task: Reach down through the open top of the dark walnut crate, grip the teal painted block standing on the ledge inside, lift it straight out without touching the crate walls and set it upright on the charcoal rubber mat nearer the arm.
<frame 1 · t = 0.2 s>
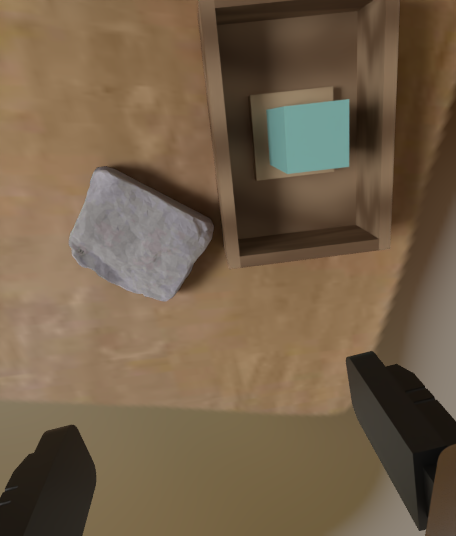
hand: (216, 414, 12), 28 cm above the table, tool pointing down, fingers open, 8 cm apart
block: (293, 135, 34), point 2 cm above the table, touching crate
stone block: (141, 235, 39), on the table
crate: (288, 134, 36), on the table
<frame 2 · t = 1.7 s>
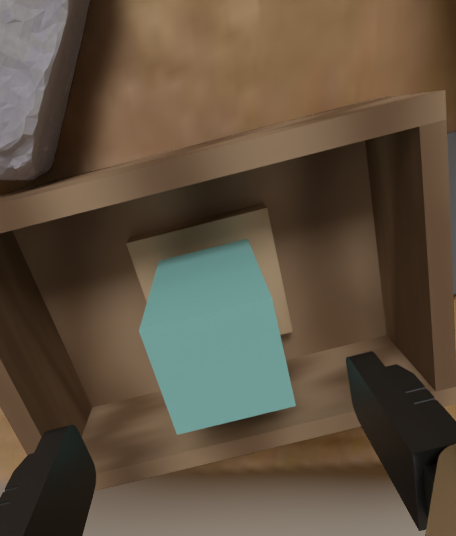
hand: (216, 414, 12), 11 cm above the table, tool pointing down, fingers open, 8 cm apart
block: (214, 290, 20), point 2 cm above the table, touching crate
crate: (213, 275, 22), on the table
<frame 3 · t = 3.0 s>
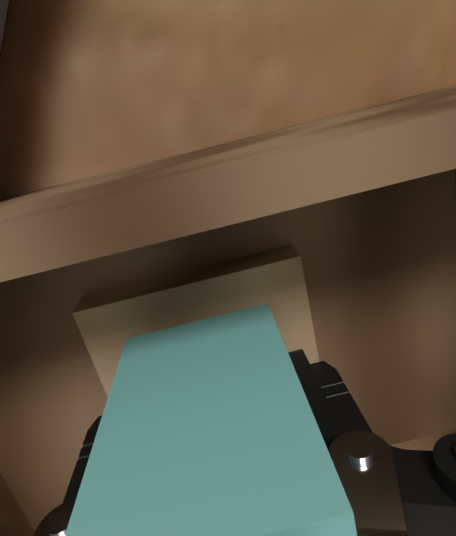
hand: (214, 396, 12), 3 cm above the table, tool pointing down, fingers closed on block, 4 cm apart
block: (214, 379, 13), point 2 cm above the table, touching crate, gripper
crate: (211, 347, 15), on the table
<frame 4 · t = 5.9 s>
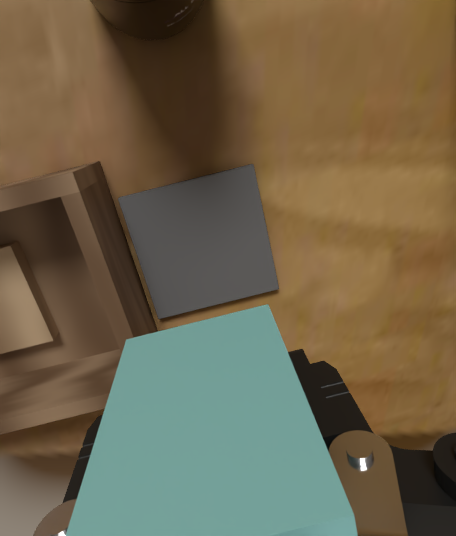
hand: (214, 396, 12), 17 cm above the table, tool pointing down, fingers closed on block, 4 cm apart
block: (214, 380, 13), point 16 cm above the table, touching gripper
mat: (203, 244, 28), on the table
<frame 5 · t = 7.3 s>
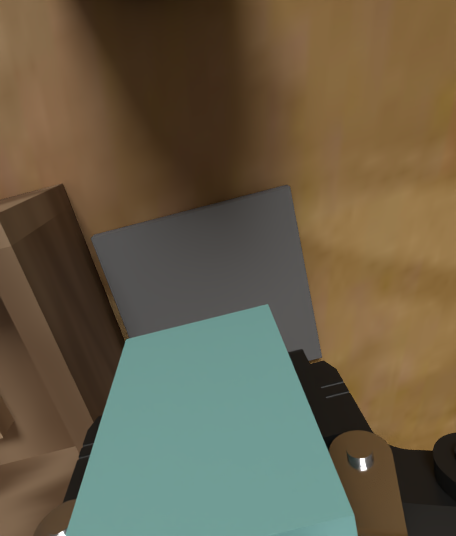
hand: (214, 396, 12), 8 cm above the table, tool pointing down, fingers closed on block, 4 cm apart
block: (214, 380, 13), point 7 cm above the table, touching gripper
mat: (215, 297, 20), on the table
when the fingers open (3 cm above the table, at t = 8.7 s): block drops 1 cm, resting on mat.
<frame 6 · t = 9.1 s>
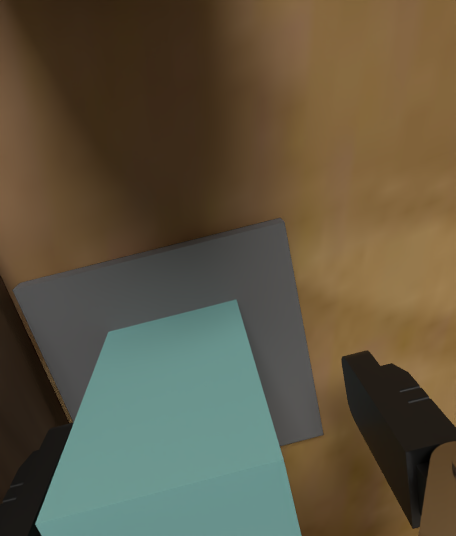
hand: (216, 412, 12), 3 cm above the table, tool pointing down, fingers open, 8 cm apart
block: (189, 369, 14), point 1 cm above the table, touching mat
mat: (185, 361, 15), on the table
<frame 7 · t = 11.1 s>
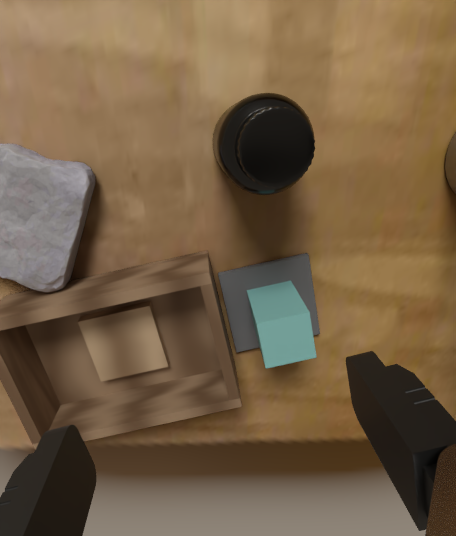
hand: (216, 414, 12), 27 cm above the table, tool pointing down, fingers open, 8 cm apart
block: (272, 305, 40), point 1 cm above the table, touching mat
supplement bottle: (250, 141, 35), on the table
stone block: (32, 212, 36), on the table
mat: (270, 303, 41), on the table
crate: (127, 334, 41), on the table
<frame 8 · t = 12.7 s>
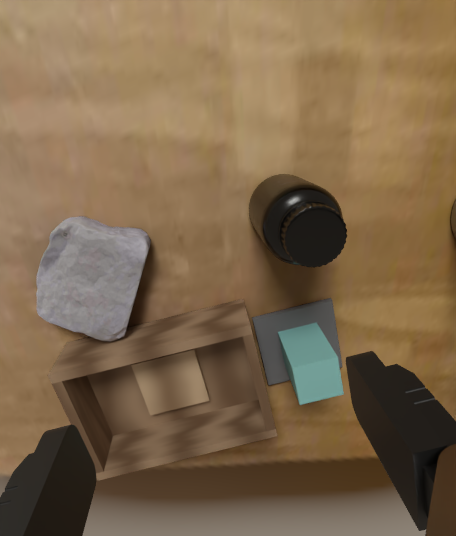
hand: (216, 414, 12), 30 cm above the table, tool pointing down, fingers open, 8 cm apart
block: (300, 344, 45), point 1 cm above the table, touching mat
supplement bottle: (280, 206, 41), on the table
stone block: (94, 270, 42), on the table
mat: (297, 341, 46), on the table
crate: (172, 372, 46), on the table
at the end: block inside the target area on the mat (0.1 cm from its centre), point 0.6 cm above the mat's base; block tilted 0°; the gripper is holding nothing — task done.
